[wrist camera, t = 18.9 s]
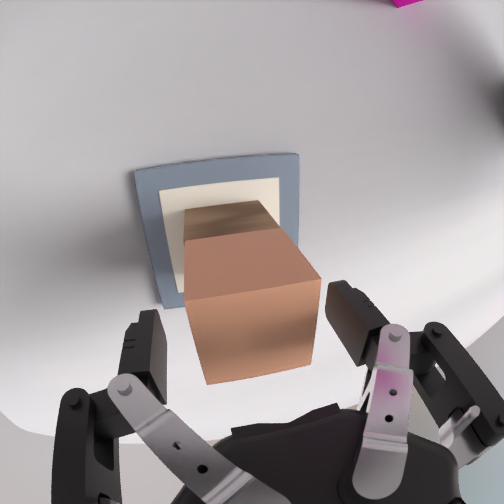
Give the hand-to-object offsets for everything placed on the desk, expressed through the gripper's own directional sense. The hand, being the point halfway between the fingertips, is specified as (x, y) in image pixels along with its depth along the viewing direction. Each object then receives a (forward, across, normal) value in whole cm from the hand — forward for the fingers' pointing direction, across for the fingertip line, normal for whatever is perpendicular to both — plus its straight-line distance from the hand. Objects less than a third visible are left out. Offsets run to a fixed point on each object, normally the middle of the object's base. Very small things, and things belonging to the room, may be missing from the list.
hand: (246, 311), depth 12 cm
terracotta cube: (+3, 0, 0) cm, 3 cm away
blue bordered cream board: (+9, 0, 0) cm, 9 cm away
